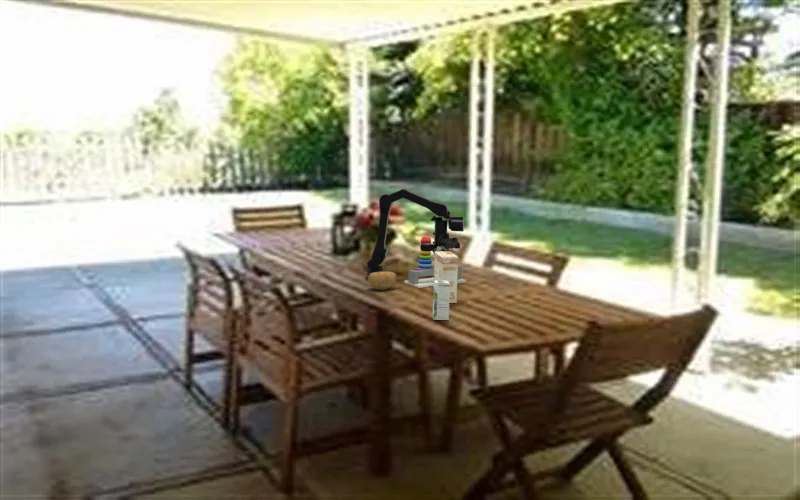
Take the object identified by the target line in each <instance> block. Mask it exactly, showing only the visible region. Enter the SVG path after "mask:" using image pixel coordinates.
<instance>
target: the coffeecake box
mask: <svg viewBox="0 0 800 500" xmlns="http://www.w3.org/2000/svg"><path fill="white" fill-rule="evenodd" d="M433 263H434V265H433V267H434V268H433V269H434V275H433V278H434V281H435V280H446V281H449V283H450V301H449V303H458V297H457V296H458V283H457V276H458V266H459V257H458V255H456V254H454V253H453V252H451V250H450V251H435V255H434V262H433Z"/></svg>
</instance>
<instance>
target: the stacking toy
mask: <svg viewBox="0 0 800 500" xmlns="http://www.w3.org/2000/svg"><path fill="white" fill-rule="evenodd" d="M423 243H430V244H432V239H431V237H430V236H426V235H424V236H422V237H421V238H420V245H421V244H423ZM417 262H418V263H417V267H416V271H417V270H427V269H433V263H432V262H433V259H432V251H424V250H420V251H419V255H418V261H417ZM424 277H427V278H428V276H424Z"/></svg>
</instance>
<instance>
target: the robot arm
mask: <svg viewBox="0 0 800 500" xmlns="http://www.w3.org/2000/svg"><path fill="white" fill-rule="evenodd" d="M401 199H405V200H408V201H410V202H413V203H415V204H417V205H419V206H422V207H424V208H425V209H427V210H429V211H430V212H431V213H433V214H434V215H433V216H432V218H430V221H431V222H434V232H432V235H433V238H434V239H433V241H432V243H431V244H430V243H423V244H421V243H420V247H419V249H420V251H421V250H424V251H431V252H432V253H433V256H435V251H450V252H451V250H454V249H455V250H457V249H461V244H460V242H459V240H458V239H459V238H458V237H456V236H454V237H450V234H449V233H448V230H450V231H451V232H459V233H460V232H461V233H462V232H464V230H465V228H464V227H465V221H464V216H463V215H462V216H461V215H459V216H453V215H452V214H451V212H450V211H449V206H448V204H447V203H445V202H441V201H437V200H434V199H432V200H431V199H429V198H426V197H424V196H422V195H420V194H418V193H415V192H413V191H411V190H409V189H407V188H402V189H400V190H398V191H395V192H392V193H389V192H388V193H384V194H381V196H380V197H379V200H378V203H379V212H380V215H379V223H378V229H377V235H376V237H377V239H376V243H375V247H374V248H373V251H372V254H371V258H370V259H369V260H368V261H367V262H366V264H367V267H366V277H364V278H365V279H367V280H368V276H369V275H370V274H371V273H374V272H384V269H383V265H382V263H383V262H385V261H386V259H387V258H388V256H389V255H388V252H389V249H390V247H387V245H386V241H387V233H388V226H389V218H390V212H391V210H392V208H393V204H394V203H395V202H396V201H399V200H401ZM450 249H451V250H450Z"/></svg>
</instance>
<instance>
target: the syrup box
mask: <svg viewBox="0 0 800 500" xmlns="http://www.w3.org/2000/svg"><path fill="white" fill-rule="evenodd" d="M449 301H450V283H449V281H446V280H435V281H434V286H433V295H432V316H433V317H432V320H433V321H434V320H450V304H449Z"/></svg>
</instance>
